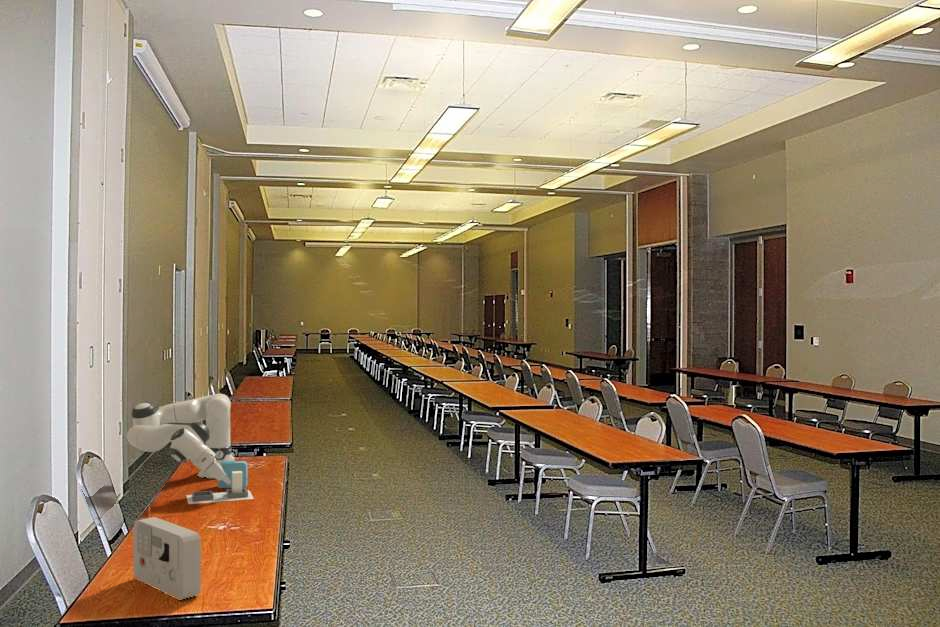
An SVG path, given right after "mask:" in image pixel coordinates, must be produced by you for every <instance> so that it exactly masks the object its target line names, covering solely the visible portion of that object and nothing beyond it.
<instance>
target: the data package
mask: <svg viewBox="0 0 940 627" xmlns="http://www.w3.org/2000/svg"><path fill="white" fill-rule="evenodd" d="M220 465H221V466H222V468H223V470H224V472H225V473H226V474H227V475H228V476H229V478H228V479H229V480H231V483H230V484H229V485H228V484H227V483H226V482H224V481H223V480H220V481H219V480H217V483H218V484H217V487H218V489H224V488H225V489H232V471H242V473H243V478H242V488H246V487H247V486H248V475H249V474H248V472H249V471H248V468H249V467H248V465H249V464H248V462H247V461H246V460H234V461H223V462H221V463H220Z"/></svg>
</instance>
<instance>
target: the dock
mask: <svg viewBox="0 0 940 627" xmlns="http://www.w3.org/2000/svg"><path fill="white" fill-rule="evenodd" d="M254 499H255V497H254V496H253V495H252V492H251V490H247V488H246V487H243V488H242V492H239V493H232V488H226V491H224V492H213V490H203V491H192V492H191V494H188V495H187V494H186V500H187V504H188V505H195V504H197V505H198V504H206V503H207V504H210V503H219V502H220V503H221V502H231V501H234V502H235V501H242V500H243V501H245V500H254Z"/></svg>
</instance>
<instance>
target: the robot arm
mask: <svg viewBox="0 0 940 627" xmlns="http://www.w3.org/2000/svg"><path fill="white" fill-rule="evenodd" d="M231 406H232V402H231V399H230V398H229V397H228V395H226V394H223V393H216V394H215V393H214V394H209V395H205V396H201V397H197V398H194V399H188V400H184V401H178V402H173V403H169V404H166V405H161V406H157V405H155V404H153V403H150V402H142V403H139V404H137V405H135V406H134V407H133V408H132V409H131V418H132V423H133V426H132V427H130V428H129V429H128V431H127V433H126V440H127V441H128V443H129V444H130V445H131V446H132V447H134V448H136V449H138V450H141V451H144V452H147V453H154V452H159V451H161V450H162V449H164V447H166V446H167V445H168V444H169V443H171V445H170V447H169V448H168V449H169V450H168V451H169V452H168V453H169V456H170V457H171V458H172V459H173V460H175V462H177V463H180V464H181V463H187V462H188V461H189V460H190V463H191V464H193V465H194V466H195V467H196V468H197V469H198V470H200V471H199V472H198V474H197V476H199V477H198V478H204V477H206V478H205V479H216V480H217V481H218V480H219V481H220V480H223V481H224V482H226V483H227V484H228V485H229V484H230V483H231V480H229V479H228V478H229V476H228V475H227V474H226V473H225V472H224V470H223V468H222V466H221V465H220V463H221V462H223V461H235V457H234V456H233V455H232V446H231ZM201 421H205V424H204V423H202V422H201Z"/></svg>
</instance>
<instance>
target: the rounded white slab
mask: <svg viewBox="0 0 940 627" xmlns="http://www.w3.org/2000/svg"><path fill="white" fill-rule="evenodd" d="M201 540H202V539H201V537H200V534H199V533H198V532H197V531H194V530H192V529H189V528H187V527H184V526H181V525H178V524H175V523H172V522H170V521H167V520H164V519H162V518H158V517H156V516H152V517H148V518H147V517H146V518H142V519H138V520H135V521H134V523H133V543H132V544H133V547H132V548H133V557H132V558H133V562H132V564H133V565H132V566H133V568H132V570H133V576H134V579H135V578H136V579H139V580H141V581H143V582H145V583H147V584H150V585H152V586H154V587H156V588H158V589H160V590H161V591H164V592H166V593H168V594H170V595H172V596H174V597H176V598H178V599H180V600H182V601H184V600H183V599H185V600H187V599H186V598H188V597H191V596H195V595H198V594H200V593H201V588H202V584H201V583H202V582H201V580H202V577H201V576H202V569H201V568H202V567H201V566H202V541H201ZM136 579H135V580H136ZM198 596H199V595H198ZM195 597H196V596H195ZM188 599H189V598H188Z"/></svg>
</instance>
